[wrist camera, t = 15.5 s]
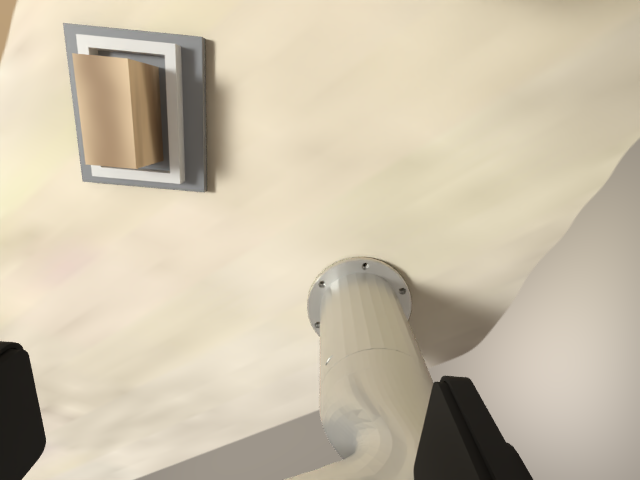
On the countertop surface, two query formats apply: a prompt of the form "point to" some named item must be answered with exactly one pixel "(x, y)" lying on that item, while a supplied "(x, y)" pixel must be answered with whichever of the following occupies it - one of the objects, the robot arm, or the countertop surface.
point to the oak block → (119, 111)
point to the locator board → (175, 97)
